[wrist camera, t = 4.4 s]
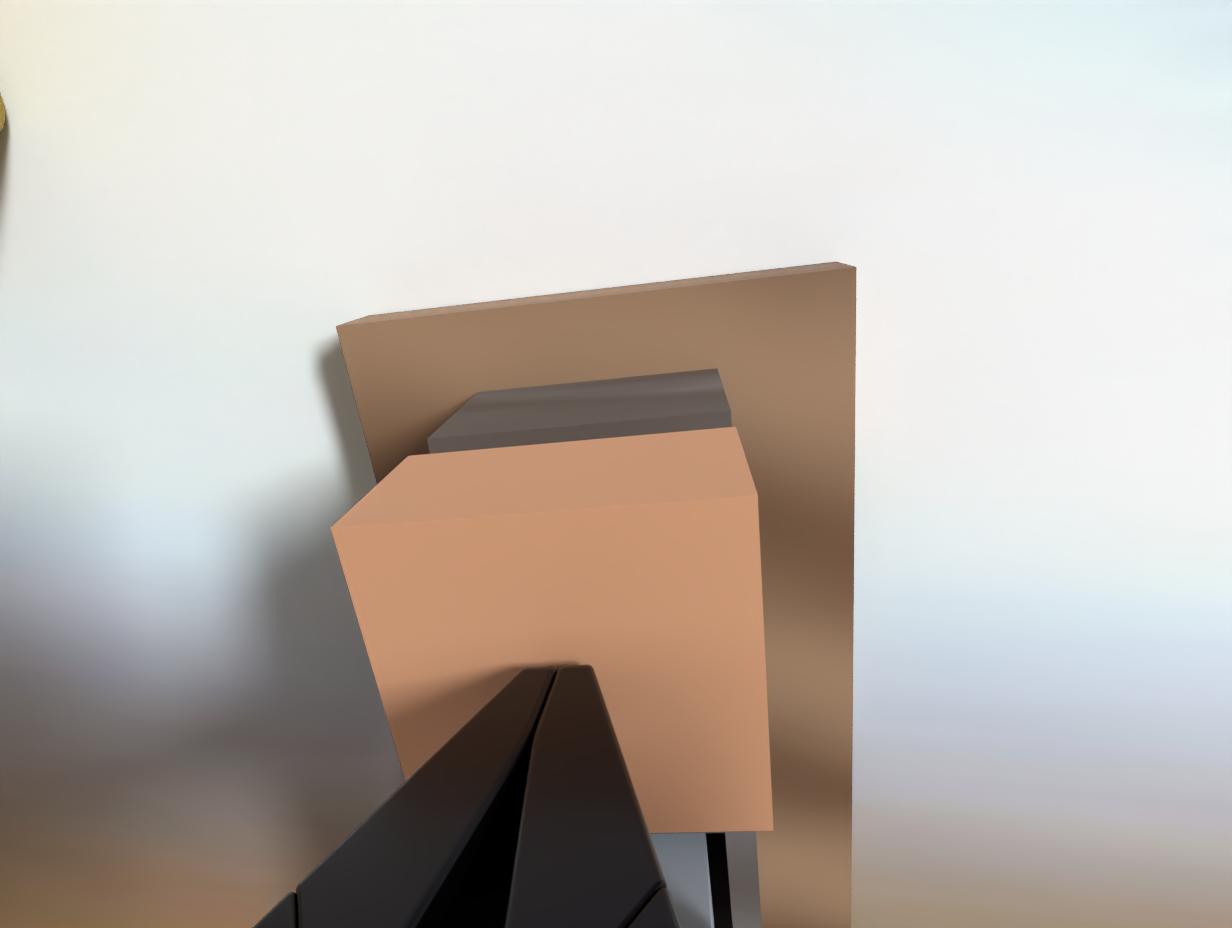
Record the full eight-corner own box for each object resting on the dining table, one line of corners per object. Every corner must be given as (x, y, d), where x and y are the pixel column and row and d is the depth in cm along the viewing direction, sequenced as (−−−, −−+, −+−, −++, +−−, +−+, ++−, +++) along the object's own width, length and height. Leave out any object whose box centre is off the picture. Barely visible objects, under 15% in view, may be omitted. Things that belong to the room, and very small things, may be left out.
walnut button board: (837, 1020, 21) (878, 1215, 17) (540, 1017, 23) (510, 1200, 18) (836, 261, 13) (913, 282, 9) (368, 315, 14) (244, 356, 10)
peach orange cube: (734, 603, 14) (773, 830, 9) (510, 616, 14) (421, 837, 9) (719, 377, 12) (757, 494, 7) (466, 402, 12) (330, 527, 7)
